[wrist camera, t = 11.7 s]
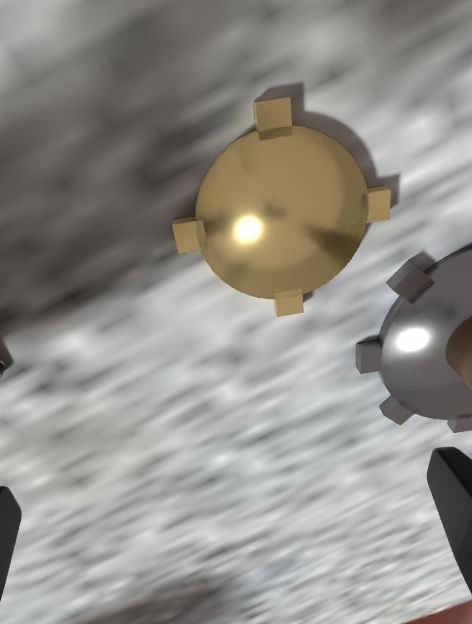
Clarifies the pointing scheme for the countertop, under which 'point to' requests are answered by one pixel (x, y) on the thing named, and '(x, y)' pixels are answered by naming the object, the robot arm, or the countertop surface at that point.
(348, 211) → the brass gear disc
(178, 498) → the countertop surface
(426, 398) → the steel gear disc
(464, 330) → the walnut axle
